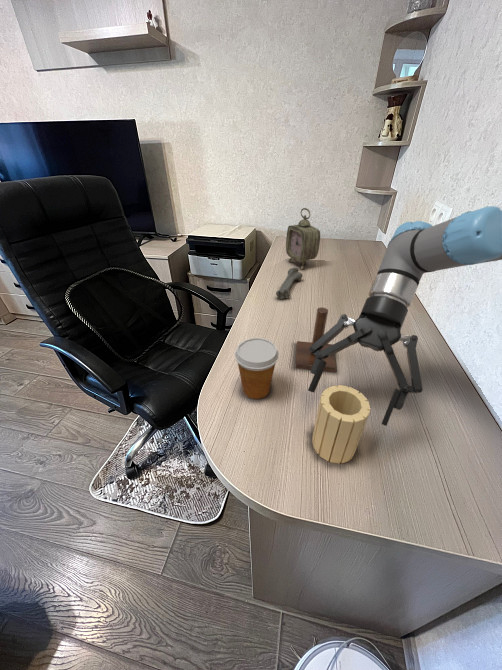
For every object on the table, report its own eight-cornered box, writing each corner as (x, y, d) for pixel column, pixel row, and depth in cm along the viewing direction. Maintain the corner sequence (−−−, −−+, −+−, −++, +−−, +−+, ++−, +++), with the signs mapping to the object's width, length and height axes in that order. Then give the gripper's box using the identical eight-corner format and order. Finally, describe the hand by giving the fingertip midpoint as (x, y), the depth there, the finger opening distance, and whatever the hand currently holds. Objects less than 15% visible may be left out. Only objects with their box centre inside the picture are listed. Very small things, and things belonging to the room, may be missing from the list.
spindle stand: (335, 372, 71) (346, 322, 62) (295, 368, 72) (301, 319, 63) (332, 348, 79) (341, 301, 70) (296, 345, 80) (302, 298, 71)
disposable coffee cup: (266, 371, 71) (267, 332, 64) (283, 397, 64) (286, 357, 57) (231, 380, 68) (228, 341, 61) (244, 409, 61) (243, 368, 54)
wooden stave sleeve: (357, 466, 50) (374, 424, 43) (312, 459, 51) (322, 418, 44) (351, 429, 57) (365, 388, 50) (312, 424, 58) (320, 382, 51)
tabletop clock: (284, 261, 136) (288, 206, 121) (300, 258, 139) (305, 204, 124) (301, 271, 125) (307, 212, 110) (317, 268, 128) (325, 210, 114)
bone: (288, 277, 120) (288, 264, 116) (302, 279, 118) (304, 265, 114) (272, 299, 103) (273, 284, 100) (290, 302, 101) (291, 287, 98)
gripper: (459, 328, 50) (417, 439, 48) (327, 293, 61) (290, 381, 60) (472, 316, 43) (423, 443, 42) (321, 279, 55) (279, 378, 53)
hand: (345, 407), depth 51 cm, fingers open, 13 cm apart
